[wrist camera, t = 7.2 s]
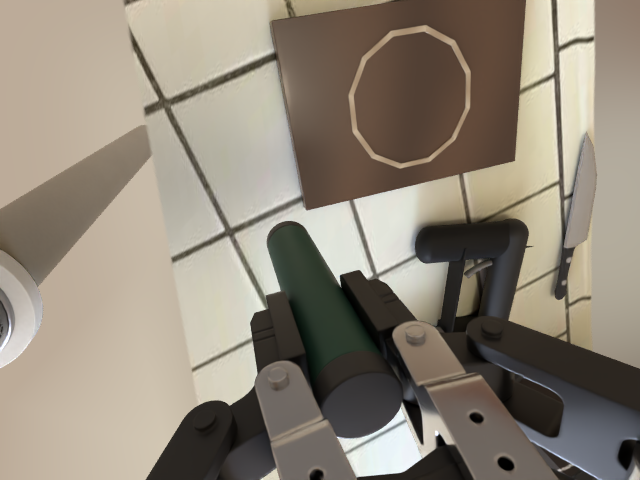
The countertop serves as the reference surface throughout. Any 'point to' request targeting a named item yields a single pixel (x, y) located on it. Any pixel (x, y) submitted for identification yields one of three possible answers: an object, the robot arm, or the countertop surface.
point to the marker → (333, 339)
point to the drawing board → (399, 93)
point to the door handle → (476, 243)
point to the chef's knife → (578, 212)
